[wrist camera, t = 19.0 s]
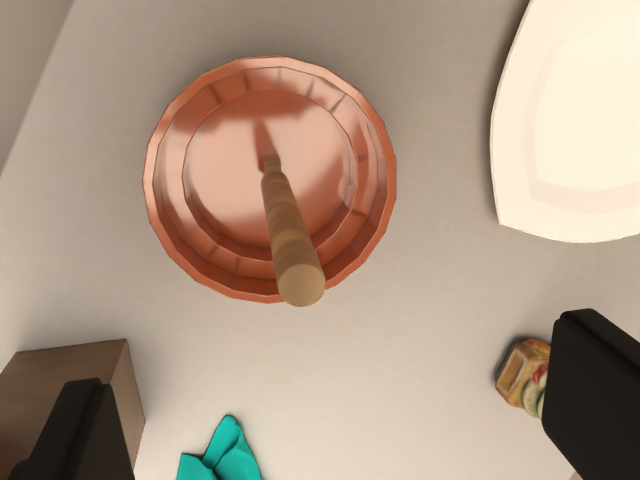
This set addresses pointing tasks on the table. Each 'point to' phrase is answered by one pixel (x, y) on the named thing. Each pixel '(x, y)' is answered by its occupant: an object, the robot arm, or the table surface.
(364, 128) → the bowl
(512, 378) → the ornament
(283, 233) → the stick
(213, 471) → the cloth
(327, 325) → the table surface
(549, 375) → the robot arm
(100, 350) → the utensil stand
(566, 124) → the plate
